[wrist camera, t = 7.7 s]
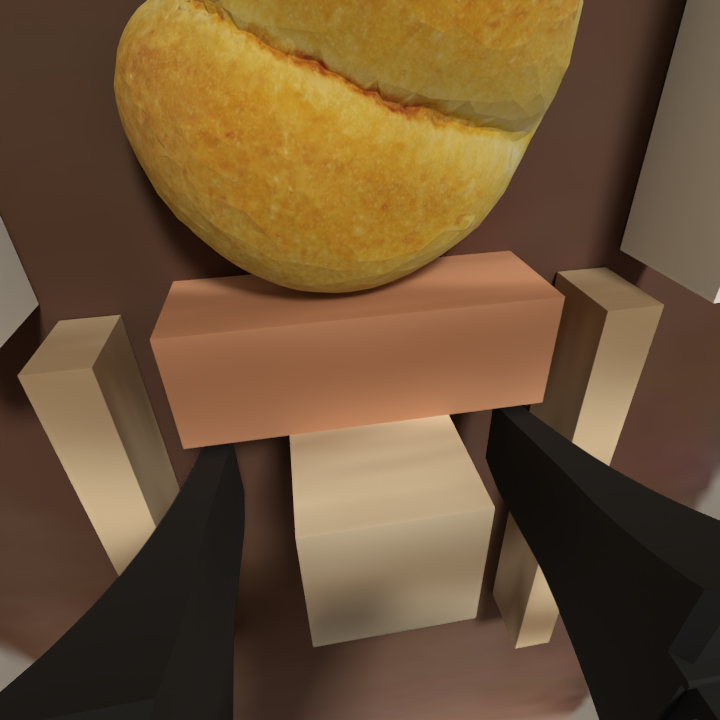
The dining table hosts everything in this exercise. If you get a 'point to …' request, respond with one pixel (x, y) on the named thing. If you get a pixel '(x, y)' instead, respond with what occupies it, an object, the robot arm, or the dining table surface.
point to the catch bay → (653, 193)
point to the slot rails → (157, 479)
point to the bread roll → (337, 124)
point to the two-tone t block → (367, 419)
